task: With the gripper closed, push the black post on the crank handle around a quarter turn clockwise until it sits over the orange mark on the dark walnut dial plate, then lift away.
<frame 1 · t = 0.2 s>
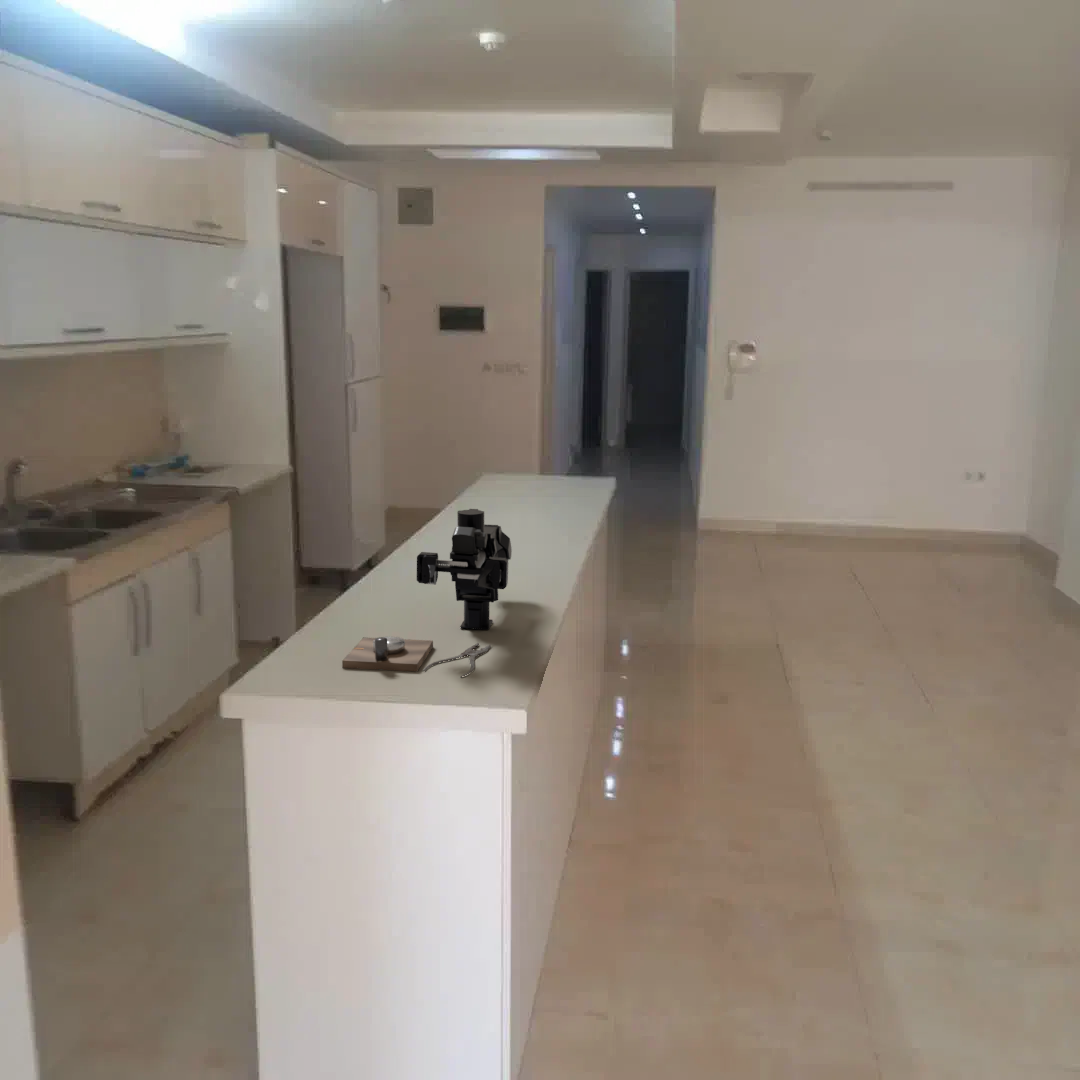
hand: (454, 581, 200), 17 cm above the table, tool horizontal, fingers open, 9 cm apart
pliers: (457, 662, 206), on the table
crank handle: (386, 642, 204), point 4 cm above the table, hinge at 0.0°
dial plate: (389, 657, 207), on the table
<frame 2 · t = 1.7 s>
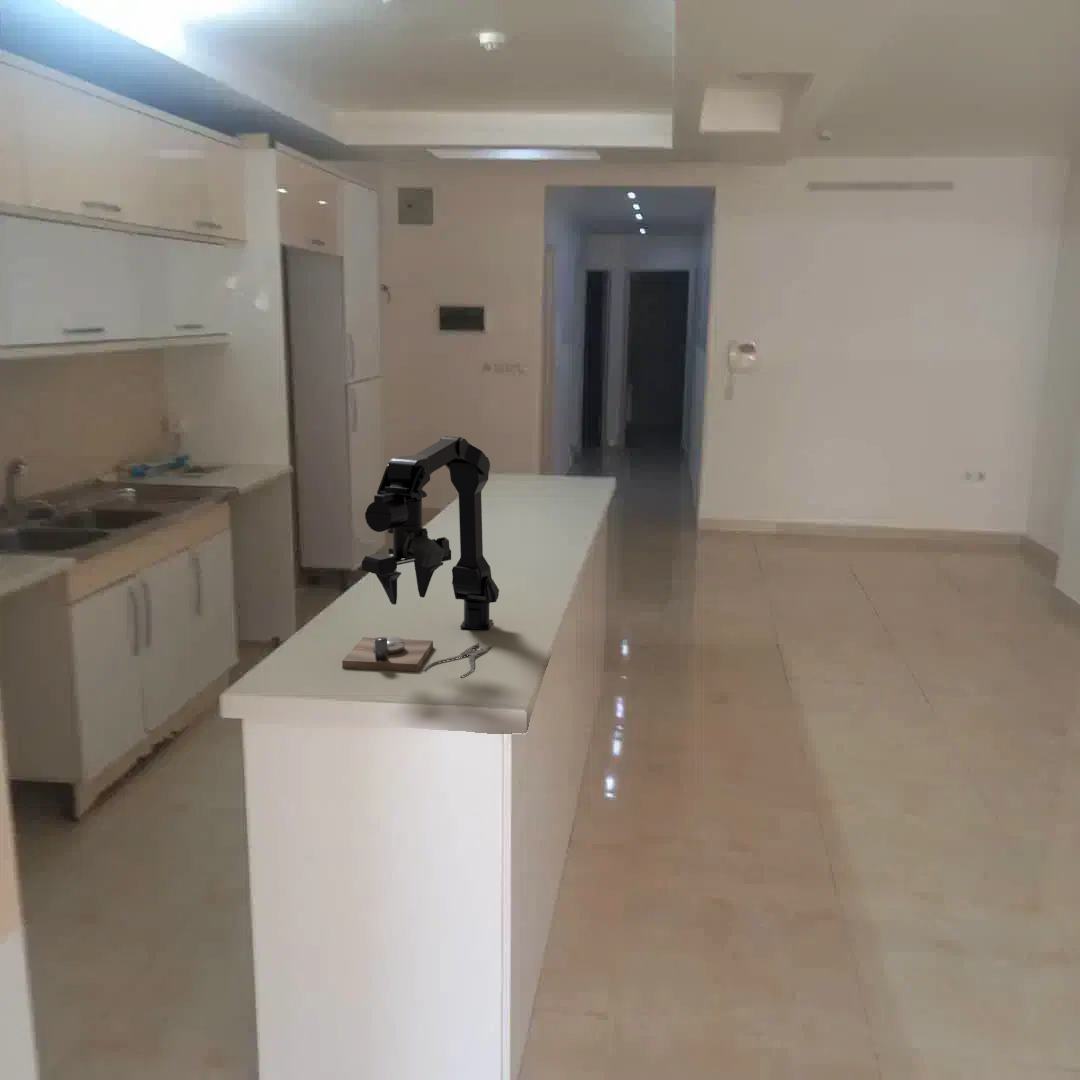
hand: (408, 600, 200), 13 cm above the table, tool pointing down, fingers open, 7 cm apart
nothing on the table moved.
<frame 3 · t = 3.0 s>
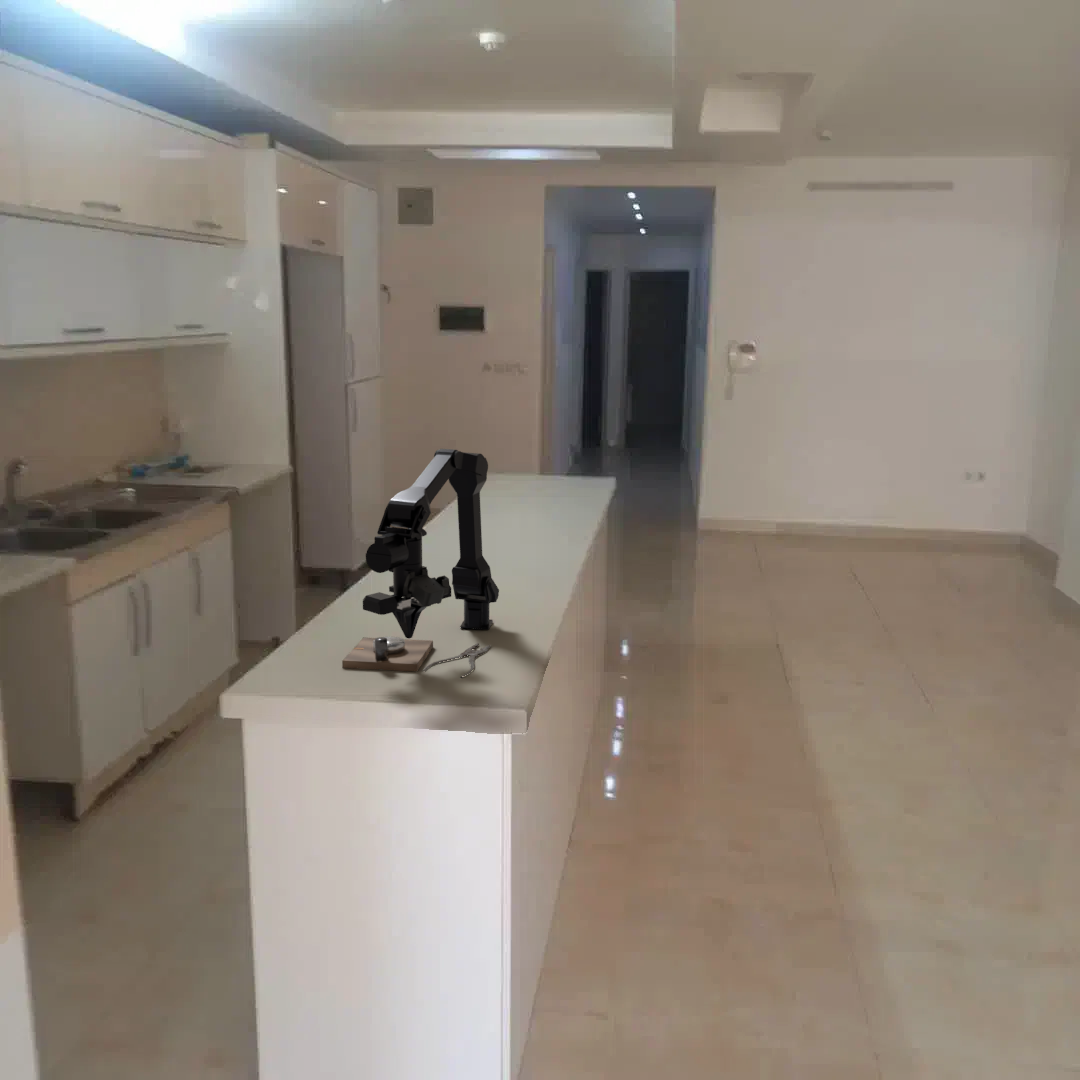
hand: (408, 637, 202), 5 cm above the table, tool pointing down, fingers closed
nothing on the table moved.
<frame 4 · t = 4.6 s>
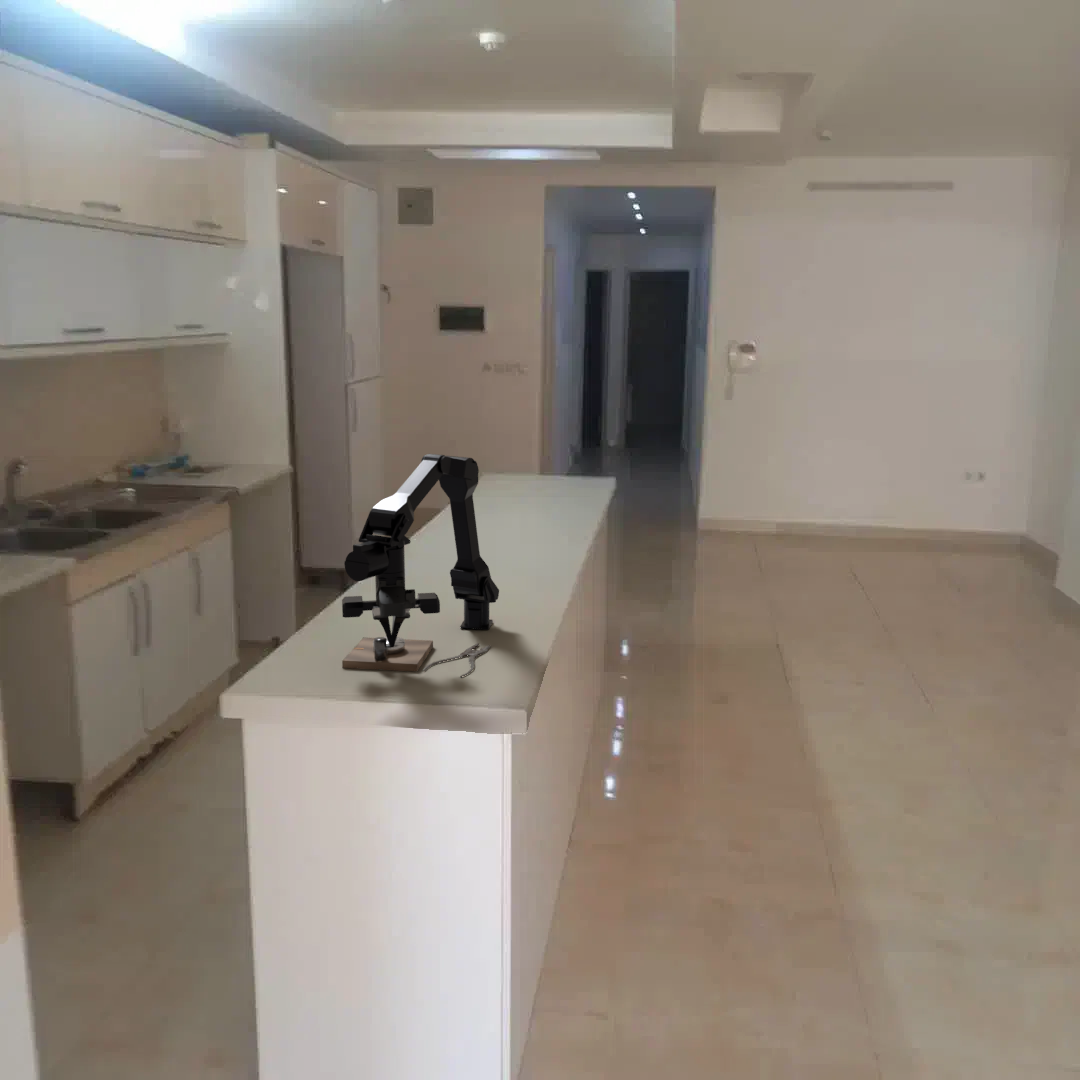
hand: (391, 646, 200), 4 cm above the table, tool pointing down, fingers closed
crank handle: (386, 642, 204), point 4 cm above the table, hinge at -1.5°, touching gripper
everything else where it was.
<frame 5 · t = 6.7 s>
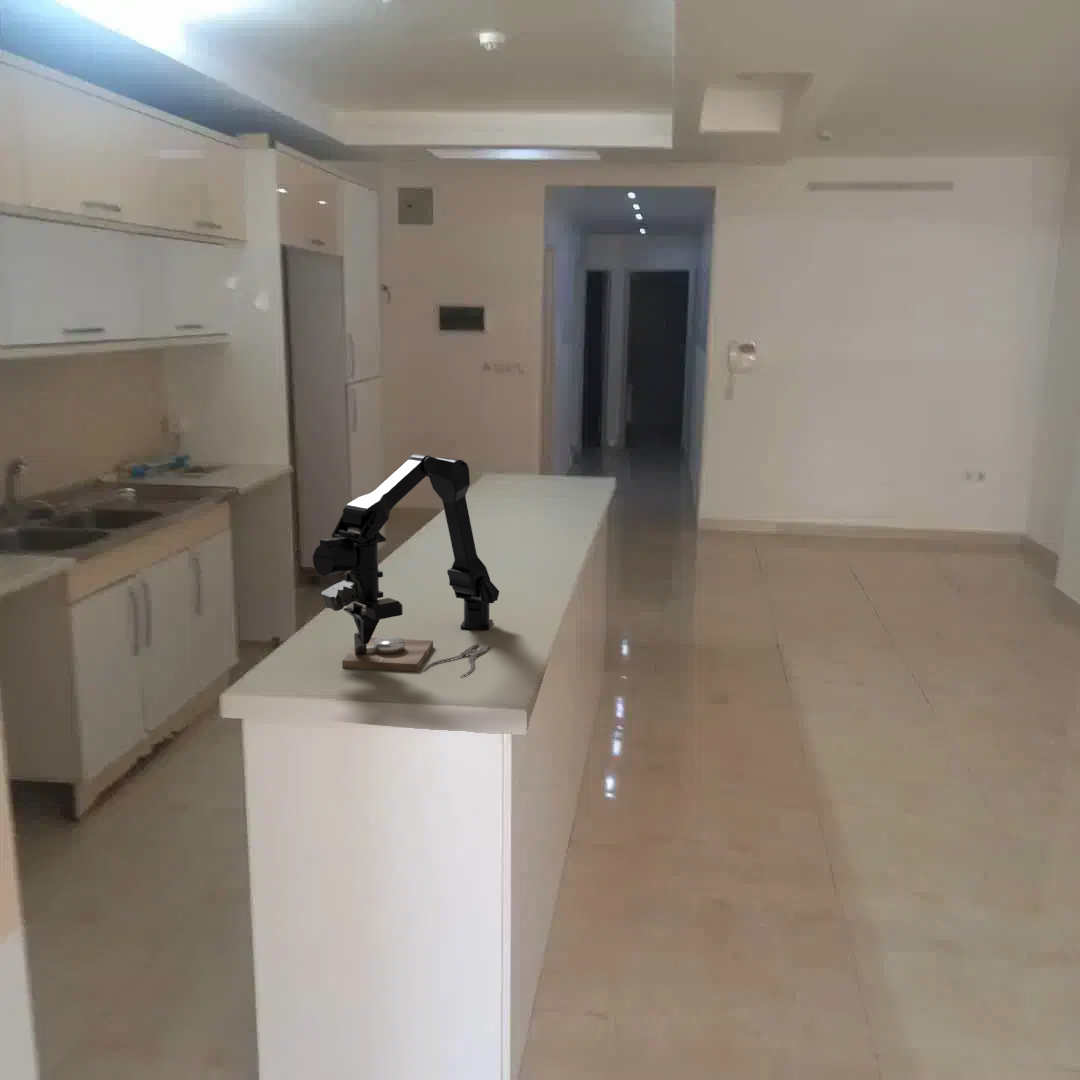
hand: (365, 643, 201), 4 cm above the table, tool pointing down, fingers closed
crank handle: (379, 640, 205), point 4 cm above the table, hinge at -54.7°, touching gripper
everything else where it was.
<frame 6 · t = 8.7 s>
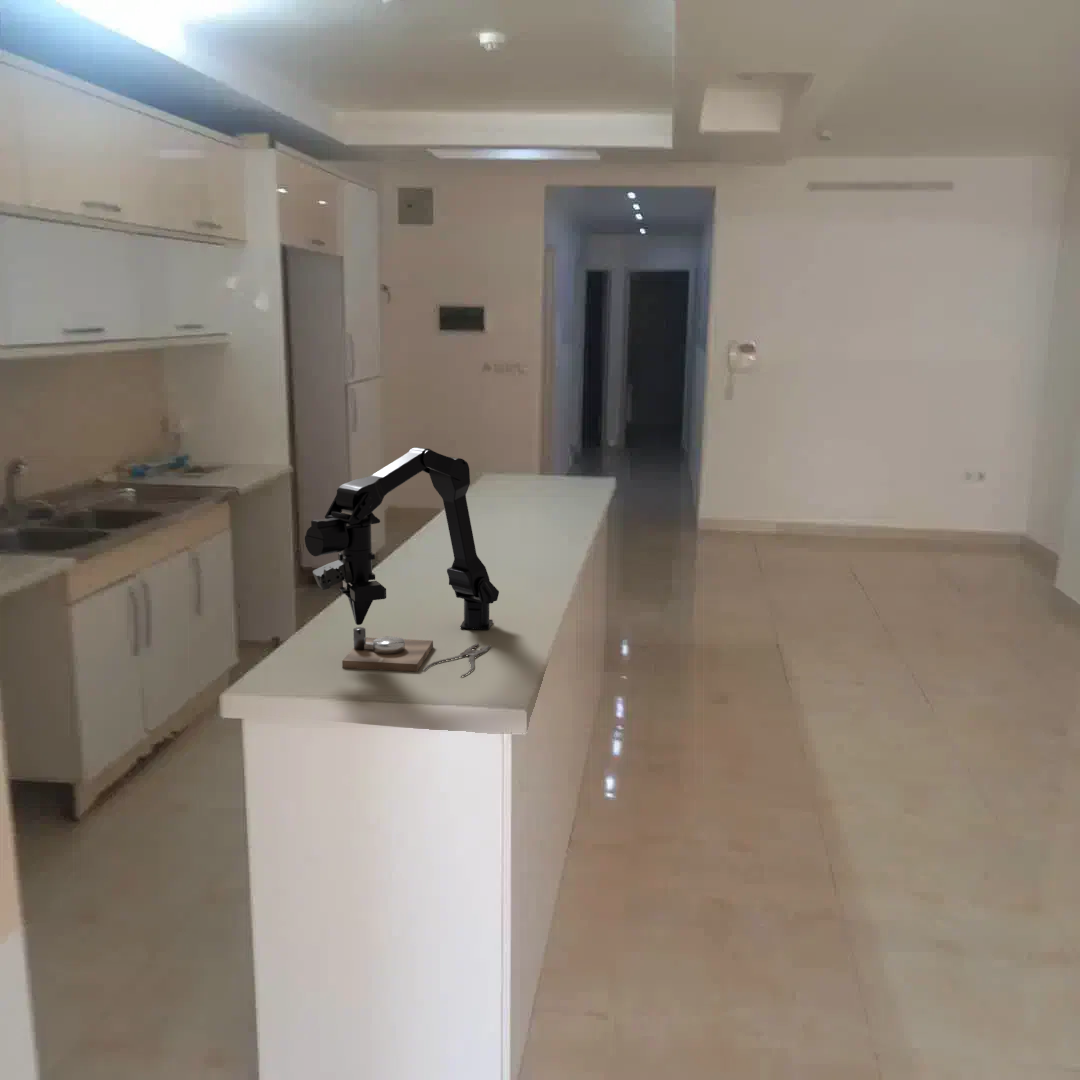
hand: (358, 624, 202), 8 cm above the table, tool pointing down, fingers closed
crank handle: (379, 639, 206), point 4 cm above the table, hinge at -87.7°
everything else where it was.
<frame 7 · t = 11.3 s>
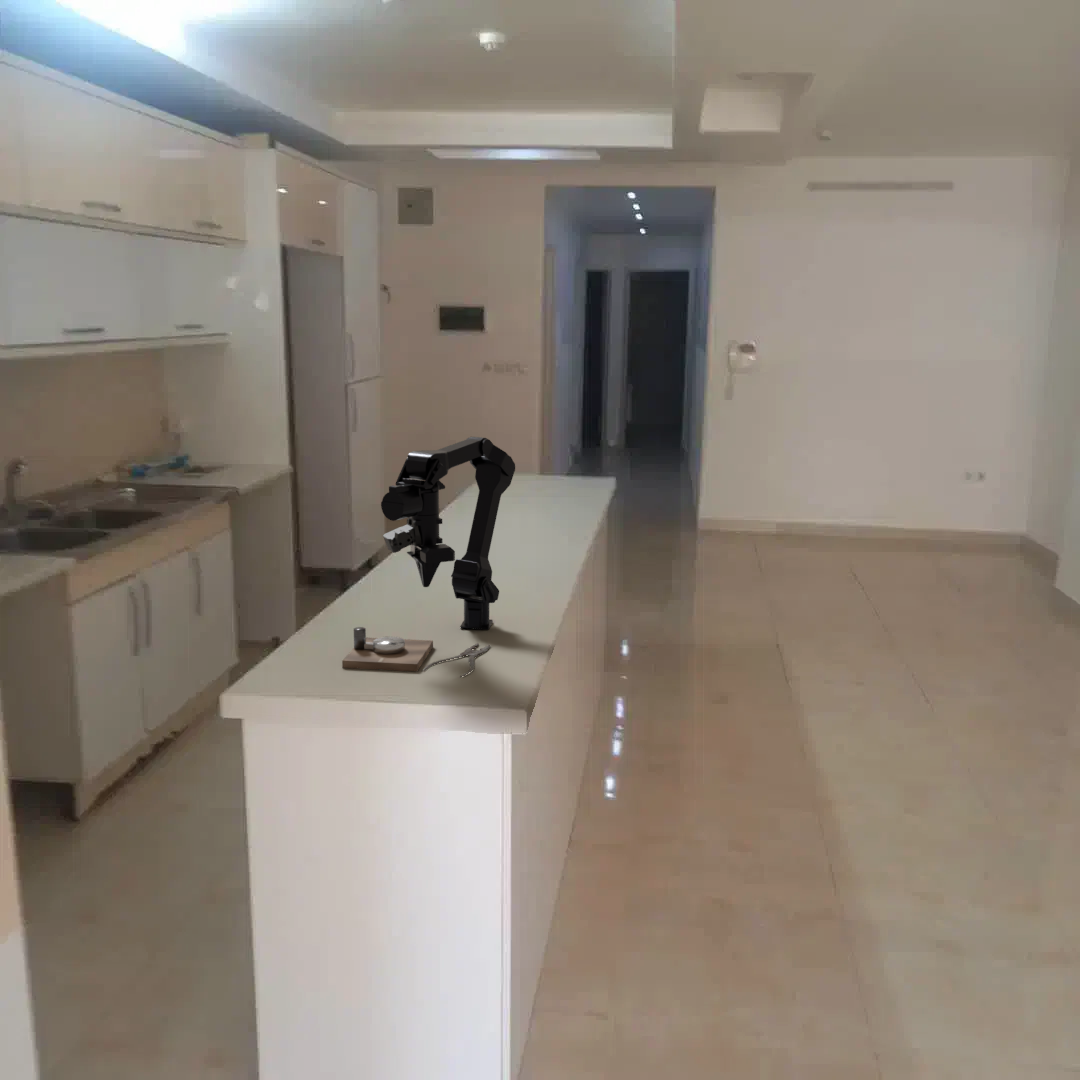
hand: (425, 586, 211), 13 cm above the table, tool pointing down, fingers closed
crank handle: (379, 639, 206), point 4 cm above the table, hinge at -88.7°
everything else where it was.
at the end: crank handle at -89° (first picture: +0°); pliers moved 0.6 cm from its start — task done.
